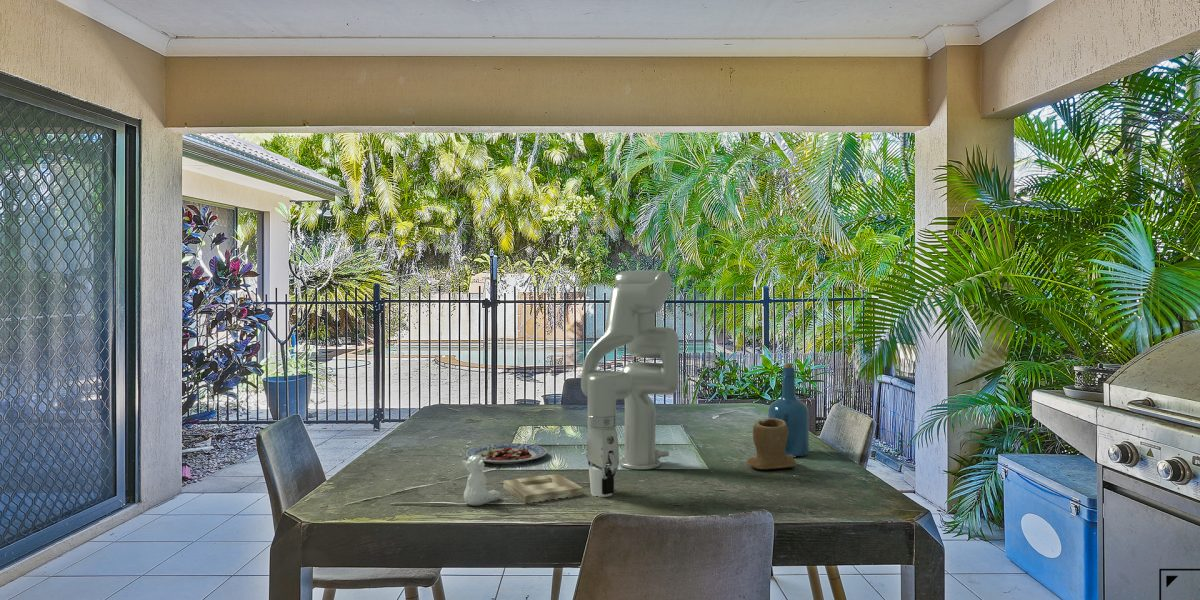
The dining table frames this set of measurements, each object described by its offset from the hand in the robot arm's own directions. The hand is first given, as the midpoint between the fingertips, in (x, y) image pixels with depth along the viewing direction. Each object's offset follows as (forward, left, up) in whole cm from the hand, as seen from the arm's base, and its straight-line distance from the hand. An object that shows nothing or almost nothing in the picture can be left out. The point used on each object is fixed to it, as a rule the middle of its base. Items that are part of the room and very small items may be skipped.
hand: (601, 489), depth 178 cm
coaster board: (+13, -9, -1) cm, 16 cm away
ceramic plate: (+8, -50, -2) cm, 51 cm away
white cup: (0, 0, -1) cm, 1 cm away
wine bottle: (-77, -13, -1) cm, 78 cm away
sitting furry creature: (+31, -8, -1) cm, 32 cm away
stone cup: (-59, 0, -1) cm, 59 cm away
